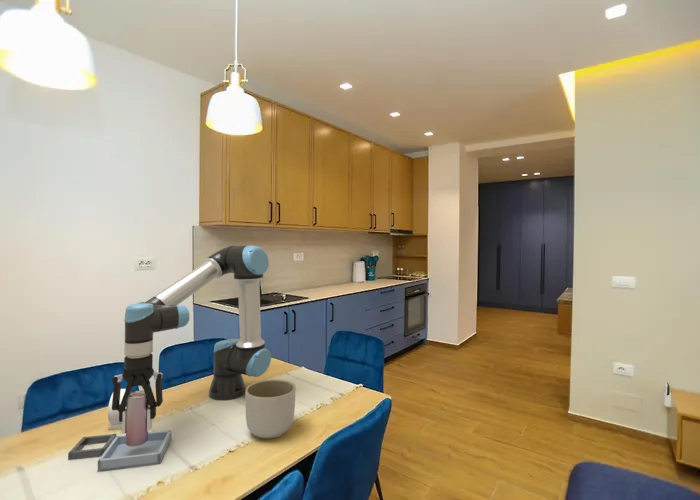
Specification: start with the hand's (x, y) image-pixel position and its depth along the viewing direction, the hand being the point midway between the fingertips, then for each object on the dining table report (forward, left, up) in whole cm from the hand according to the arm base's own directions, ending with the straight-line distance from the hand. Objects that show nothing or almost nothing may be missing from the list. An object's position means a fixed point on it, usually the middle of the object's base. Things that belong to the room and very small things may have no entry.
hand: (137, 430), depth 110 cm
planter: (-40, -5, -8) cm, 41 cm away
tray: (0, 0, -7) cm, 7 cm away
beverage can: (0, 0, -4) cm, 4 cm away
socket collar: (+14, -6, -7) cm, 17 cm away
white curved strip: (+12, -21, -8) cm, 25 cm away
